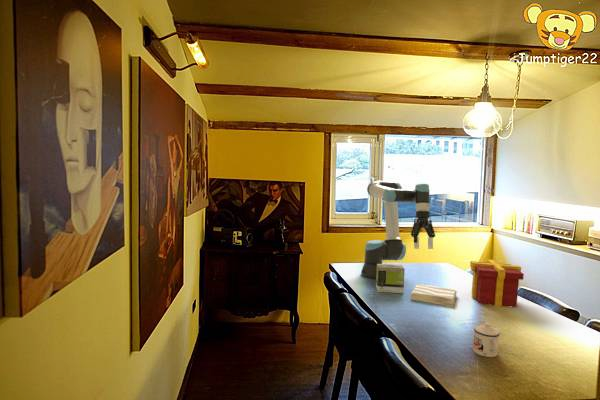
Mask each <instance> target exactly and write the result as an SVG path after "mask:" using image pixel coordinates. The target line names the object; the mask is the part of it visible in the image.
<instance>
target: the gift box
mask: <svg viewBox="0 0 600 400" xmlns="http://www.w3.org/2000/svg"><path fill="white" fill-rule="evenodd" d="M469 266H470V271H471V272H472V284H471V285H472V286H471V298H472V300H476V302H477V301H478V302H477V303H478V304H479V303H481V305H488V304H491V306H495V307H499V306H501V307H508V306H512V307H511V308H517V307H518V306H517V305H518V296H519V293H518V292H519V284H520V280H521V281H523V280H524V273H523V272H522V266H520V265H512V264H509V263H506V264H505V263H498V262H496V261H495V260H493V259H487V260H486V262H485V261H472V260H470V265H469Z"/></svg>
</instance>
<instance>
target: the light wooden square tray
mask: <svg viewBox="0 0 600 400" xmlns="http://www.w3.org/2000/svg"><path fill="white" fill-rule="evenodd" d="M456 298H457V290H456V289H455V288H454V289H453V288H446V287H441V286H434V285H427V284H422V283H421V284H420V283H417V284H416V285H415V287H414V288H413V290H412V291H411V293H410V300H413V301H418V302H425V303H429V304H434V305H435V304H437V305H441V306H447V307H455V302H456Z"/></svg>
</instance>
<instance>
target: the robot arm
mask: <svg viewBox="0 0 600 400" xmlns="http://www.w3.org/2000/svg"><path fill="white" fill-rule="evenodd" d="M429 186H430V185H429V184H428V183H416V184H415V187H414V189H404V188H403V187H402V185H401V183H400V182H399V181H393V180H374V181H372V182H370V183H369V184H368V185H367V187H366V191H367V193H368V195H369V196H370V197H373V198H379V199H380V198H381V201H382V203H384V215H385V216H384V217H385V219H384V221H385V236H386V237H385V239H384V240H381V239H372V240H368V241H366V243H365V246H364V261H363V265H362V269H361V272H360V275H361V276H362V277H365V278H368V279H373V280H376V273H377V264H383V261H402V260H403V259H404V258H405V257H406V252H407V246H406V244H405V243H404V242H403V240H402V238H401V237H400V223H399V209H398V208H399V206H398V203H409V204H415V211H416V212H415V219H413V225H412V229H411V233H410V236H411V237H412V238H413V249H415V250H419V249H420V237H419V235H420V232H421V231H422V229H424V230H425V232H426V234H427V249H429V250H433V249H434V238H436V232H435V230H434V226H433V222H432V220H431V219H430V217H431V211H430V191H431V190H430V187H429Z"/></svg>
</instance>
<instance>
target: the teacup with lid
mask: <svg viewBox="0 0 600 400" xmlns="http://www.w3.org/2000/svg"><path fill="white" fill-rule="evenodd" d="M473 330H474V334H473V335H474V336H473V346H472V347H473V348H472V350H473V351H474V353H475V354H477V355H479V356H482V357H485V358H496V357H497V355H498V353H499V339H500V331H499V330H498V329H497V328H495V327H493V326H491V324H490V323H489V322H485V323H484V324H481V325H476V326H475V327H474V328H473Z"/></svg>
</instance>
